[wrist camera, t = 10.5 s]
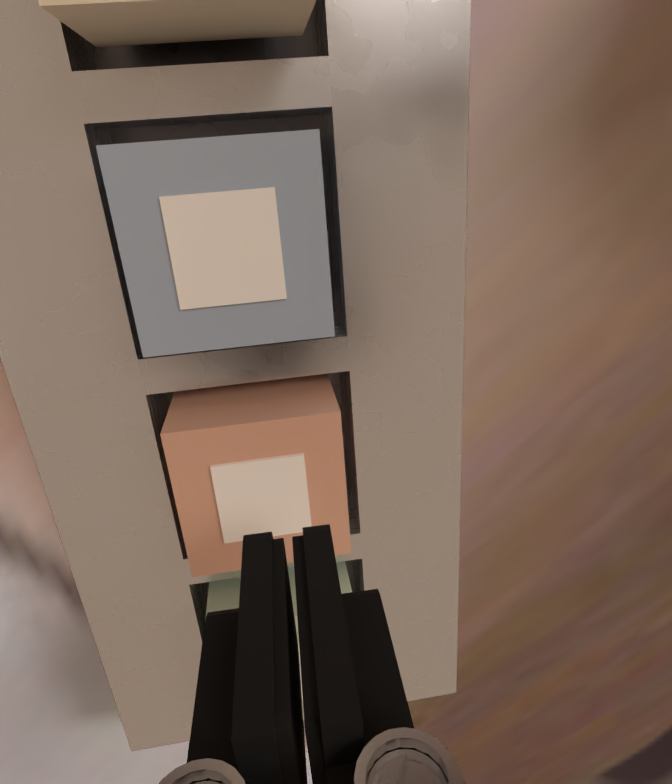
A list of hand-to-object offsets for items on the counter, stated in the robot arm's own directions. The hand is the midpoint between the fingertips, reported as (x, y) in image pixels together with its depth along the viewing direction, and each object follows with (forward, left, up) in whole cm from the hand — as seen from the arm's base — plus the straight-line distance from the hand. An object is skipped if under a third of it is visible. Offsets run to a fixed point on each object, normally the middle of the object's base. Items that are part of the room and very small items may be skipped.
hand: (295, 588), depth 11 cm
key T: (+1, -6, -8) cm, 10 cm away
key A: (+1, +1, -8) cm, 8 cm away
